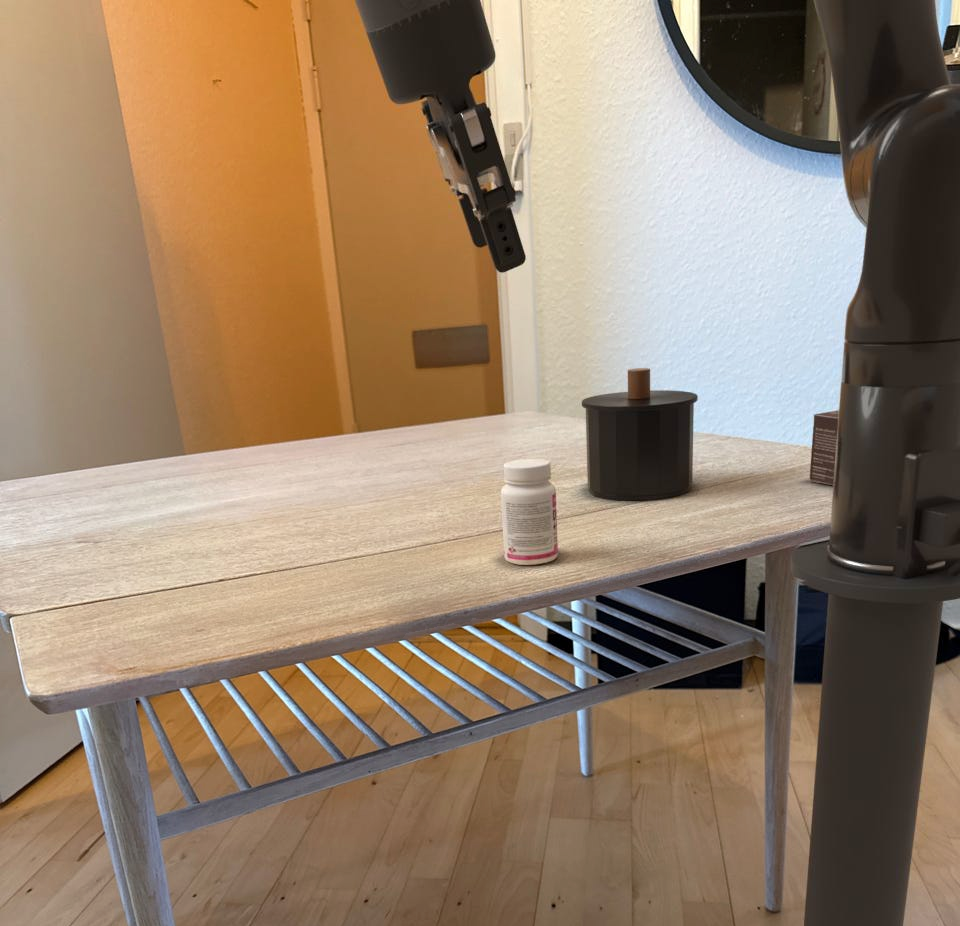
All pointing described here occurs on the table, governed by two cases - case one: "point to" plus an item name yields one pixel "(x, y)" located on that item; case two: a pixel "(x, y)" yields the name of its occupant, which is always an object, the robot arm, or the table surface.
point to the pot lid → (639, 396)
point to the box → (824, 447)
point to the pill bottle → (529, 512)
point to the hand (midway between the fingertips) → (499, 254)
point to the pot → (640, 453)
